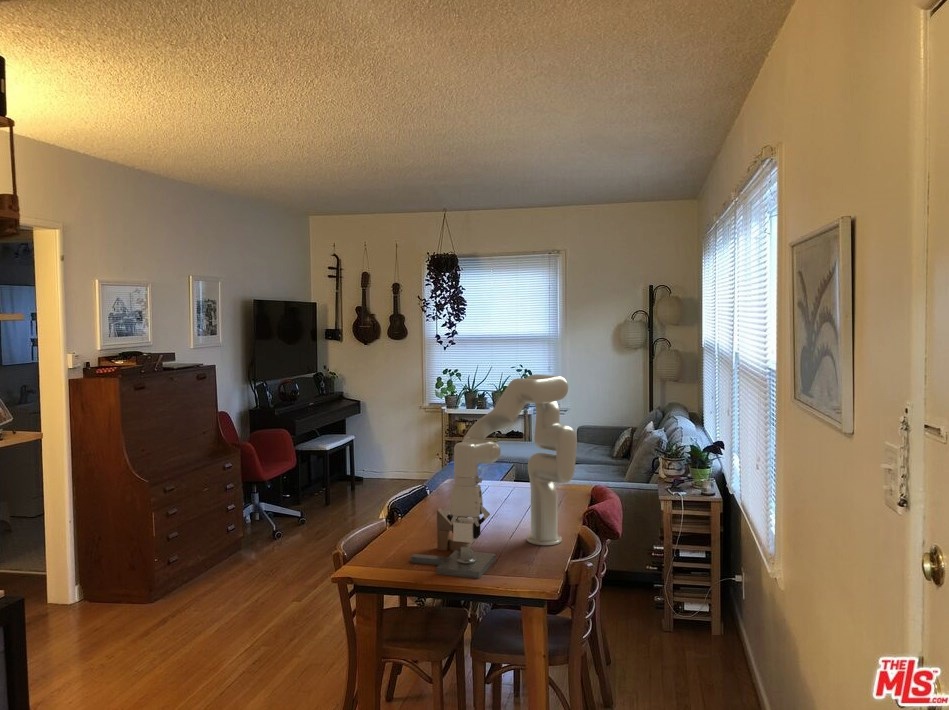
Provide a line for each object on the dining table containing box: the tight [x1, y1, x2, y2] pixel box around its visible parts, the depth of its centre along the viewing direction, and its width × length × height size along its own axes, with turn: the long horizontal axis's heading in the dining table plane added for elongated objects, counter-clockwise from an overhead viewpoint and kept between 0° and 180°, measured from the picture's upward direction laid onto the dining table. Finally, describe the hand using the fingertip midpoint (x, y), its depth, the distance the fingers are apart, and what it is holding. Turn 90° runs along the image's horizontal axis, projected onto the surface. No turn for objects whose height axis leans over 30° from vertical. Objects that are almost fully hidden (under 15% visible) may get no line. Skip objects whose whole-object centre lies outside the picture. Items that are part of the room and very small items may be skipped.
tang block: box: [410, 544, 497, 580], centre depth 223 cm, size 18×26×7 cm
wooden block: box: [436, 507, 470, 552], centre depth 238 cm, size 4×11×18 cm, turn 76°
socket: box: [452, 517, 477, 544], centre depth 220 cm, size 6×6×6 cm
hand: (466, 536), depth 221 cm, fingers closed on socket, 6 cm apart
